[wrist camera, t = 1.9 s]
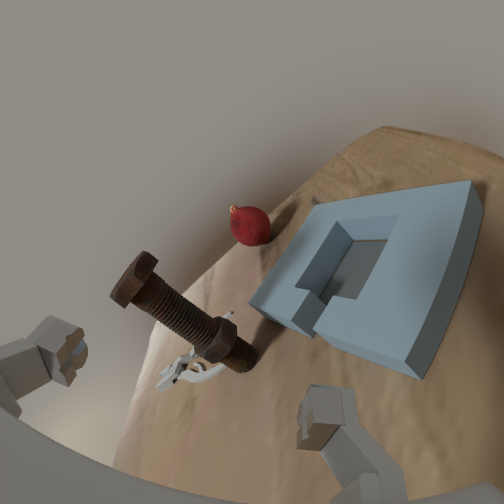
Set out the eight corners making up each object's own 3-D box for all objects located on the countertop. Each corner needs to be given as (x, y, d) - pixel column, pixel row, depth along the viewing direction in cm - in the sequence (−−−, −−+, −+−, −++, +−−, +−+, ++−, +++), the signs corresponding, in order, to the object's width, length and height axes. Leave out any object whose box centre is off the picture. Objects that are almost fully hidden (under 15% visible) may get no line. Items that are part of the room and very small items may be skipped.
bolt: (223, 375, 31) (107, 295, 26) (246, 337, 33) (137, 254, 28) (250, 390, 26) (110, 298, 21) (276, 345, 28) (148, 247, 23)
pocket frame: (483, 208, 18) (471, 179, 17) (421, 380, 15) (404, 361, 14) (330, 221, 36) (315, 205, 35) (266, 318, 33) (247, 303, 32)
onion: (272, 251, 43) (232, 214, 41) (249, 260, 48) (211, 227, 45) (286, 223, 47) (249, 187, 44) (263, 234, 51) (228, 202, 48)
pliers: (220, 361, 31) (150, 406, 36) (231, 368, 32) (159, 411, 37) (225, 306, 40) (163, 356, 45) (234, 313, 40) (171, 361, 45)
